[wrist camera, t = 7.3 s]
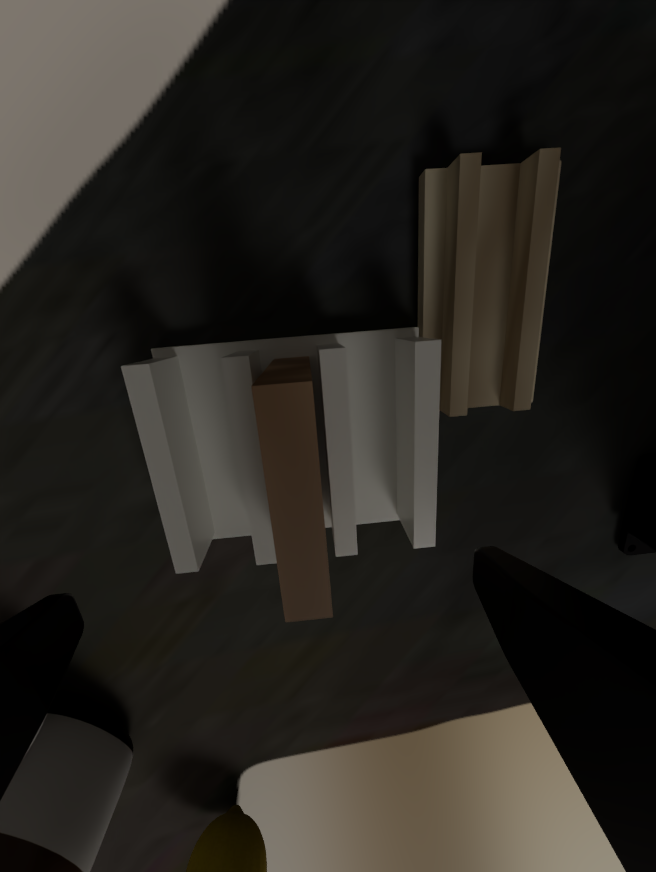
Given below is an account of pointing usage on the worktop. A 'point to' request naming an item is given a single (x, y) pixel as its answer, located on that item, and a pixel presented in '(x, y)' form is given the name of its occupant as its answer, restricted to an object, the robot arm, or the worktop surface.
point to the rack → (336, 433)
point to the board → (294, 486)
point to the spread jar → (64, 791)
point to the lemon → (230, 845)
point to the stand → (486, 275)
